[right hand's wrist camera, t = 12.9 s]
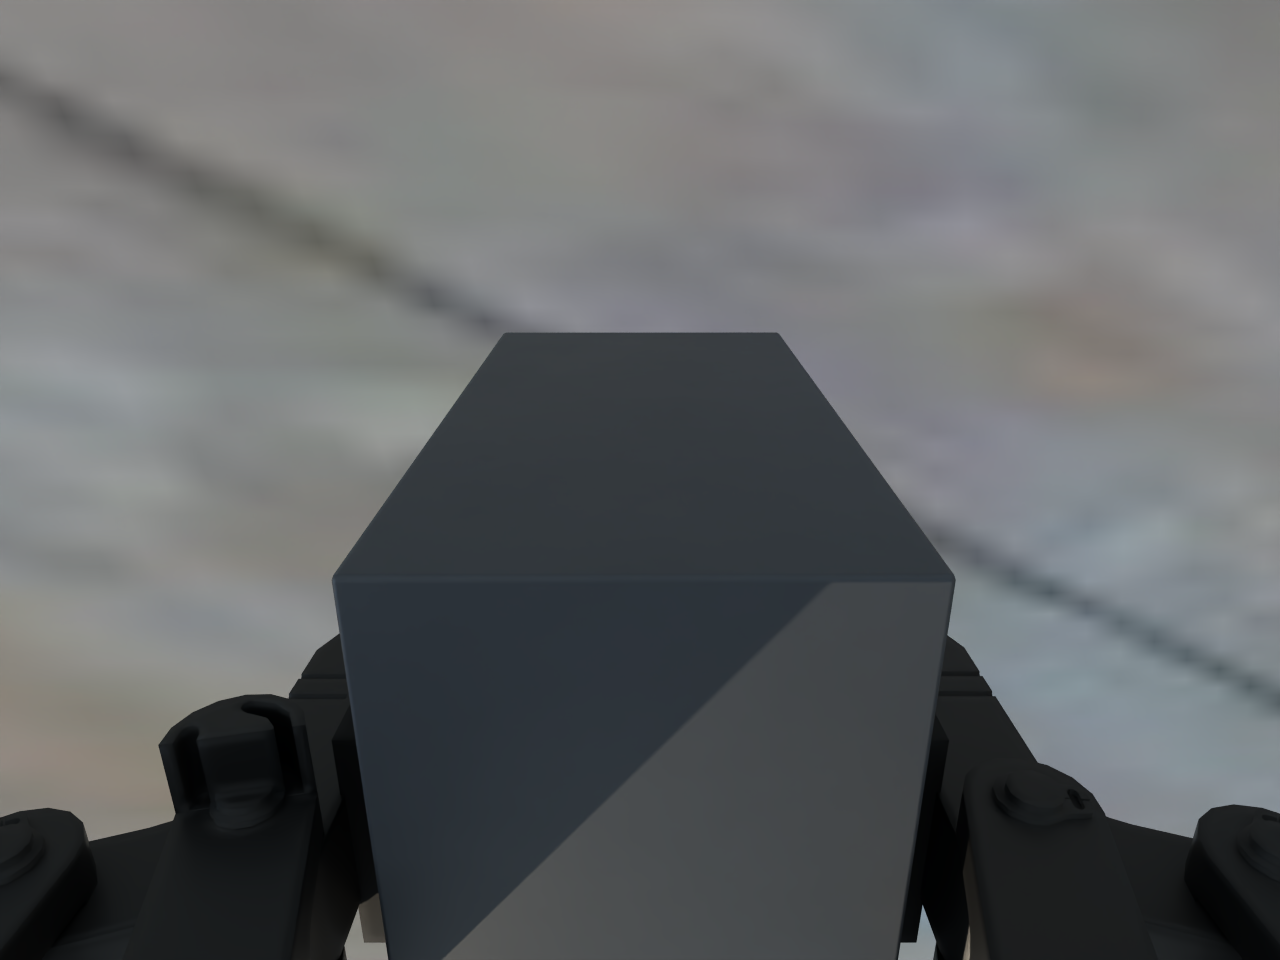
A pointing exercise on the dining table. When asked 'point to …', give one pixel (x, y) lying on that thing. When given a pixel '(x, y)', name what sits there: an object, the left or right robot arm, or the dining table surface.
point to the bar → (643, 664)
